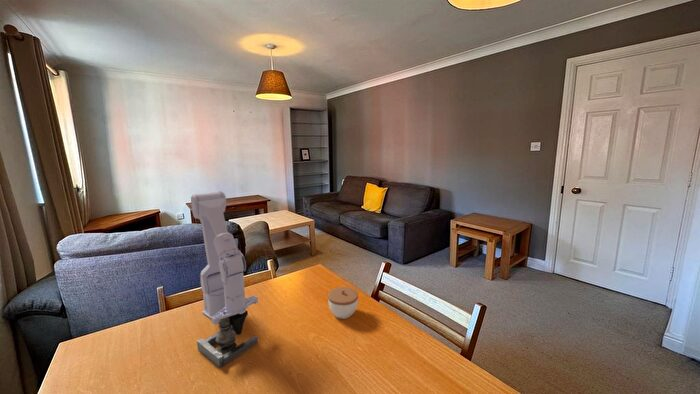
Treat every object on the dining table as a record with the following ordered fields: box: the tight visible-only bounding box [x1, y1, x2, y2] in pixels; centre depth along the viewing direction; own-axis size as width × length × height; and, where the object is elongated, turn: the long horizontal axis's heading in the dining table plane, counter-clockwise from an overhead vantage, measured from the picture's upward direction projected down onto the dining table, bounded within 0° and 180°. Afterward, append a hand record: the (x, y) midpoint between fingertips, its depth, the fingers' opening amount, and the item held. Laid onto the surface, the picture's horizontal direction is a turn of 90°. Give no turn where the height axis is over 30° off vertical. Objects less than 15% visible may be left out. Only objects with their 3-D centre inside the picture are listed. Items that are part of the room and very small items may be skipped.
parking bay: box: [196, 325, 259, 369], centre depth 86 cm, size 12×12×3 cm
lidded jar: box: [327, 286, 359, 320], centre depth 102 cm, size 11×11×9 cm
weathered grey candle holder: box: [216, 312, 238, 354], centre depth 85 cm, size 6×6×12 cm
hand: (238, 333), depth 89 cm, fingers closed
